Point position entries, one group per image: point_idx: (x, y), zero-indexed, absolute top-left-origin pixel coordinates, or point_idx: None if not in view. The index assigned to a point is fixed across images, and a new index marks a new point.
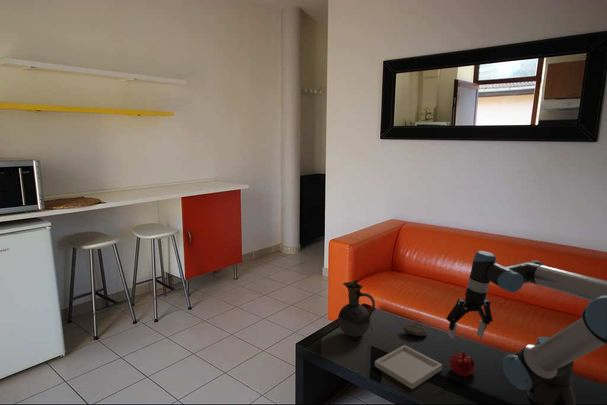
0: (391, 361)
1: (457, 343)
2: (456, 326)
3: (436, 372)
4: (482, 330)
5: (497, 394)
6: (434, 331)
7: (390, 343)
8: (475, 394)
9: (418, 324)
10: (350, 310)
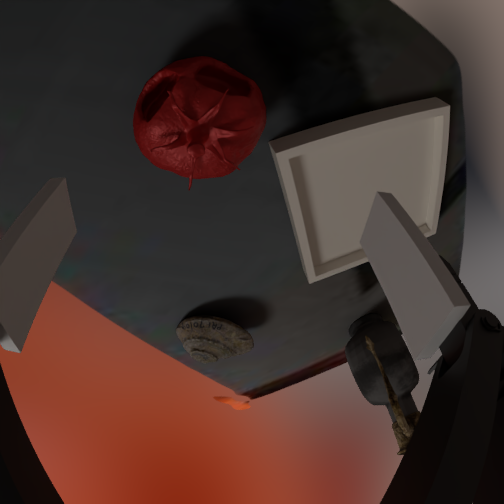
0: None
1: (99, 271)
2: (444, 282)
3: (310, 131)
4: (28, 229)
5: None
6: (145, 329)
7: (314, 298)
8: None
9: (211, 354)
10: (417, 382)
